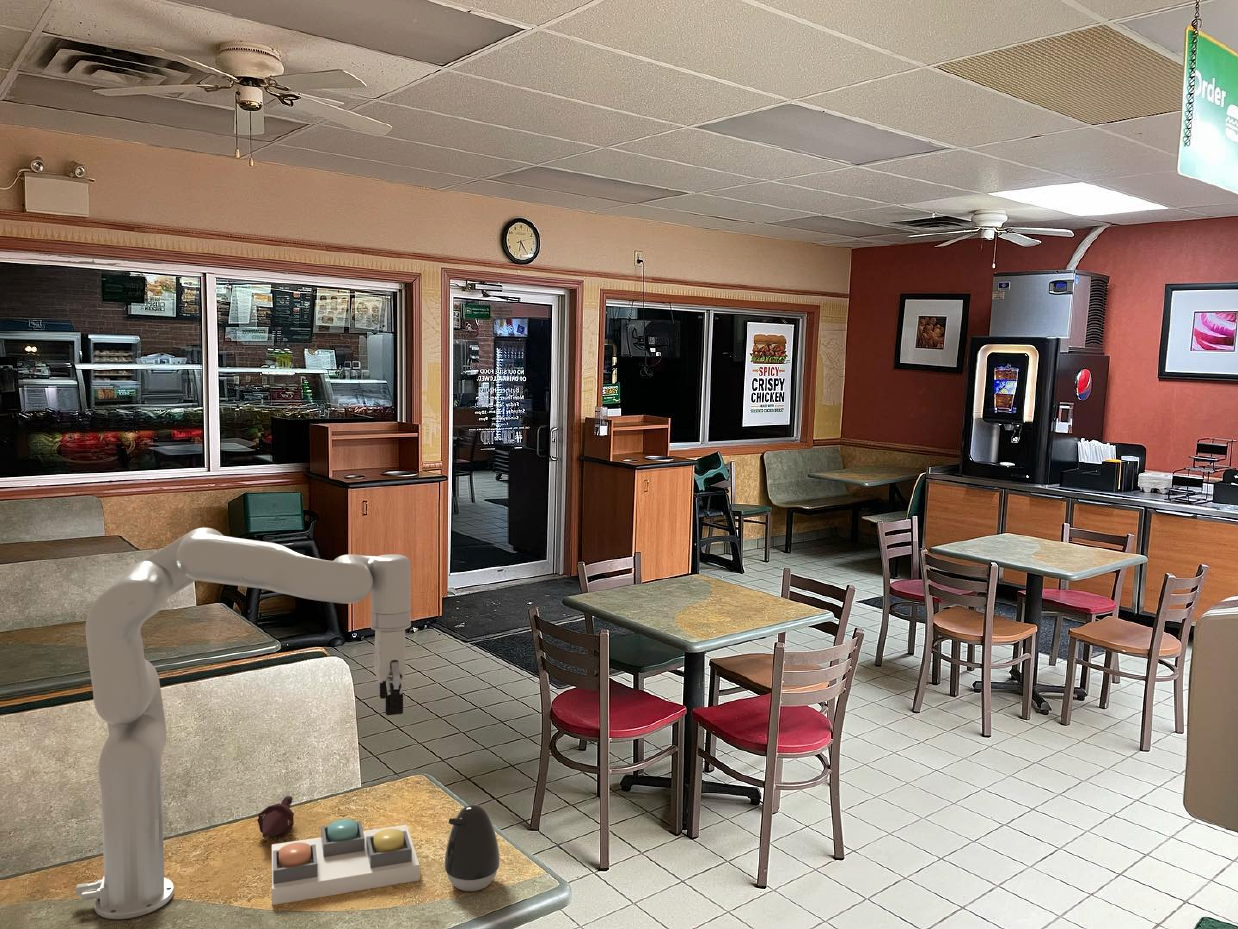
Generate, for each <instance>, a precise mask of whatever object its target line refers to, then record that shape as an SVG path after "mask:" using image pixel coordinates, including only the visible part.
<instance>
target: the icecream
mask: <svg viewBox="0 0 1238 929" xmlns="http://www.w3.org/2000/svg"><path fill="white" fill-rule="evenodd" d="M293 800H294V799H293V797H292V795H287V796H285V797H284V798H283V799H282V801H281V802H278V803H275V804H272V805H268V806H267V807H266V808H265V809H264V810H262V811H261V812H260V813H258V818H257V823H258V827H259V831H260V833H262V837H263V838H266V837H268V838H269V839H271V840H273V839H283V838H286V836H287V835H288V834H289V833H291V831H292V830H293V828H294V824H295V823H294V822H295V820H294V815H295V813H294V811H293V810H292V809H291V804H292V802H293Z"/></svg>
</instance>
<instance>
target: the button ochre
mask: <svg viewBox="0 0 1238 929" xmlns="http://www.w3.org/2000/svg"><path fill="white" fill-rule="evenodd" d="M403 848H404V833H403V832H402V831H401V830H398V829H385V830H381V831H379V832H377V833H376V834H375V835H374V852H375V853H379V852H386V851H392V850H398V849H403Z"/></svg>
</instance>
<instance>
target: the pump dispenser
mask: <svg viewBox="0 0 1238 929" xmlns="http://www.w3.org/2000/svg"><path fill="white" fill-rule="evenodd" d="M448 824H449V825H452V827H451V830H450V833H449V836H448V839H447V840H448V841H447V844H446V850H445V856H444V871H445V872H446V875H447V877H448V880H449V882H450V883H451V884H452V885H453V887H455V888H457V889H459V890H461V891H465V892H475V891H476V892H477V891H481V890H483V889H484V888H486V887H488V886H489V885H490V884H492V882H493V880H494V879H495V877H496V875H497V873H498V872H497V871H498V870H499V868H500V863H501V862H500V851H499V844H498V840H497V834H496V832H495V828H494V826H493V822H492V820H491V818H490V816H489V814H488V812H487V811H486V809H485V808H483V806H481V805H479V804H473V803H472V804H469V805H466V806H464V807H463V808H461V810H460V811H459V812H458V815H457V816H456V817H451V818H449V819H448Z"/></svg>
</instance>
